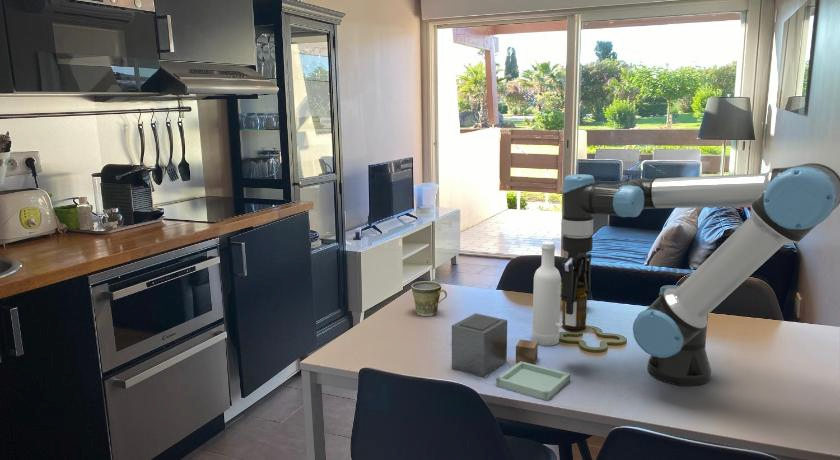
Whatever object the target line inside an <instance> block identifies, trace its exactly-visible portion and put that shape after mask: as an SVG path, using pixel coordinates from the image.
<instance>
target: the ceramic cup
mask: <svg viewBox="0 0 840 460" xmlns="http://www.w3.org/2000/svg"><path fill="white" fill-rule="evenodd" d="M411 291H412V292H411V293H412V296H413V299H414V304H415V305H414V306H415V311H416V314H417V316H419V315H421V316H420V317H423V316H431V317H434V316H436V315H437V313H438V306H439V304H440V303H441V302H442V301H444V300H445V299H446V298H447V296H448V295H447V294H448V293H447V291H446V290H445V289H442V284H441V282H436V281H430V280H428V281H426V280H423V281H416V282H414V283H412V284H411ZM441 293H444V295H445V296H444V297H443V298H442V299H440V296H441ZM435 314H436V315H435ZM433 315H434V316H433Z"/></svg>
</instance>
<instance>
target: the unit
mask: <svg viewBox="0 0 840 460" xmlns="http://www.w3.org/2000/svg"><path fill="white" fill-rule="evenodd" d="M507 350H508V319H503V318H499V317H495V316H491V315H484V314H481V313H474V314H472V315H470V316H467V317H466V318H464V319H462V320H460V321H458V322H456V323H455V324H452V325H451V369H453V370H457V371H460V372H464V373H467V374H471V375H474V376H477V377H482V378H486V377H487V376H488V375H490V374H492V373H493V372H494V371H496V370H497V369H498V368H500V367H502V366H503V365H504V364H506V363H507V362H508V361H507V358H508V357H507V355H508V351H507Z"/></svg>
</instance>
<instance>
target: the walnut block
mask: <svg viewBox="0 0 840 460" xmlns="http://www.w3.org/2000/svg"><path fill="white" fill-rule="evenodd" d="M538 350H539V345H538V342H536V341H532V340H526V339H519V340H518V341H517V343H516V345H515V364H517V363H519V362H520V361H522V362H526V363H530V364H533V365H536V362H537V360H538V358H539V357H538V354H539V351H538Z"/></svg>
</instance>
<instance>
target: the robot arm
mask: <svg viewBox="0 0 840 460" xmlns="http://www.w3.org/2000/svg"><path fill="white" fill-rule="evenodd" d="M562 189H563V190H562V202H563V203H562V213H563V214H562V221H561V225H562V234H563V236H562V239H561V241H562V244H561V245H562V247H561V248H562V250H563V251H564V252H567V253H568V254H567V258H566V262H562V263H561V269H562V277H561V283H562V297H561V296H560V301H561V302H562V301H566V302H565V325H569V326H574V327H575V326H576V310H577V302H576V301H575V297H576V290H577V283H578V281H581V282H584V283H585V293H586V296H587V297H588V295H591V292H592V291H591V285H592V284H591V282H592V281H591V273H592V271H591V263H592V254H591V253H590V252H591V251H592V250H593V247H594V246H593V242H594V240H593V239H594V238H593V236H592V235H594V215H602V216H603V215H604V216H613V217H621V218H628V217H629V218H636V217H638V216H640V215H641V212H642V211H643V210H646V209H647V210H649V209H650V210H651V209H685V208H686V209H690V208H691V209H692V208H694V209H696V208H701V209H702V208H750V216H749V217H748V218H747V219H746V220H745V221H743V223H742V224H741V225H740V226H739V227H738V228H737V229H736V230H734V232H733V233H731V235H730V236H729V237H727V238H726V239H725V240H724V242H723V243H721V245H720V246H719V247H717V249H716V250H714V252H713V253H711V255H710V256H708V258H706V260H704V261H703V263H701V264H700V265H699V266H698V268H696V269H695V270H694V271H693V272H692V273H691V274H690V275H689V276H688V277H687V278H686V279H685V280H684V281H683V282H682V283H681V284H680V285H675V284H672V285H671V284H668V285H663V286H661V287H660V289H659V293H658V296H659V297H657V298H656V300H654V301H653V303H651V305H649V306H648V307H647V308H646V309H645V310H643V311H641V312H640V313H638V314H637V316H636V318H635V319H634V321H633V324H632V332H633V338H634V339H635V342H636V344H637V345H638V346H639V348H640V349H641V350H642V351H644V352H645V353H647V354H648V355H649V358H648V361H647V372H648V373H649V374H650V375H651V376H652V377H653V376H654V377H653V378H655V379H657V380H660V381H662V382H664V381H665V383H668V384H671V385H677V384H679V385H678V386H685V385H694V386H699V384H701V385H704V384H703V383H705V384H706V382H707V383H708V382H709V381H711V373H712V369H711V368H712V367H711V364H710V362H709V361H710V360H709V357H708V353H707V349H706V342H707V331H708V321H709V320H708V319H709V314H710V313H711V312H712V311H713V310H714V309H716V308H717V307H718V306H719V305H721V303H722V302H723V301H724V300H726V298H727V297H728V296H729V295H731V294H732V293H733V292H734V291H735V290H736V289H737V288H738V287H739V286H741V285H742V284H743V283H744V282H745V281H746V280H747V279H749V277H750V276H751V275H752V274H754V273H755V271H757V270H758V269H759V268H760V267H761V266H763V264H765V262H767V261H768V260H769V259H770V258H772V256H774V254H775V253H776V252H778V250H780V249H781V248H782V247H784V245H785V244H797V243H800V242H801V240H802V239H804V238H805V237H806V236H807V235H808V234H809V233H810V232H811V231H812V230H813V229H815V228H816V227H817V226H818V225H819V224H821V223H823V222H824V221H825V220H826V219H827V218H829V216H830V215H831V214H832V213H833V211H834V210H835V209H837V207H839V205H840V175H839V174H838V172H837V171H835V169H833V168H832V167H830V166H827V165H825V164H820V163H816V162H814V163H813V162H812V163H811V162H809V163H804V164H799V165H795V166H787V167H775V168H774V167H773V168H771V169H770V170H769V171H767V172H765V173H764V172H763V173H747V174H744V173H742V174H726V175H725V174H724V175H703V176H683V177H664V178H663V177H662V178H644V177H643V178H642V177H640V178H633V179H631V180H629V181H625V182H621V183H617V184H608V183H607V184H605V183H604V184H603V183H602V184H601V183H596V182H595V177H594V176H593V175H592V174H584V173H583V174H577V173H576V174H568V175H566V176H565V177H564V180H563V188H562ZM586 299H588V298H586ZM587 302H588V301H587ZM587 302H586V307H587V306H588V305H587V304H588V303H587ZM586 311H587V308H586ZM673 383H674V384H673Z"/></svg>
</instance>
